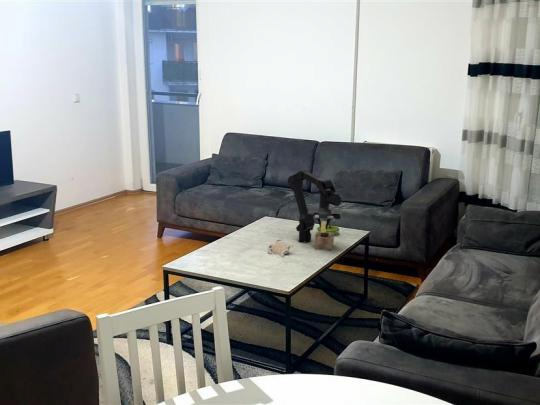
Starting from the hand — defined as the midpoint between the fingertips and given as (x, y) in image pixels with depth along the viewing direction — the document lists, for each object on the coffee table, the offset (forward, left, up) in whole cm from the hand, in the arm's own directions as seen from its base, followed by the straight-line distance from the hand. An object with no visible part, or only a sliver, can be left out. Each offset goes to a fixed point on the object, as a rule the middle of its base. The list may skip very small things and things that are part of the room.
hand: (323, 229), depth 341 cm
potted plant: (+2, +27, -11) cm, 29 cm away
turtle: (-23, -13, -11) cm, 29 cm away
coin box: (+1, +2, -11) cm, 11 cm away
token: (0, 0, -1) cm, 1 cm away
